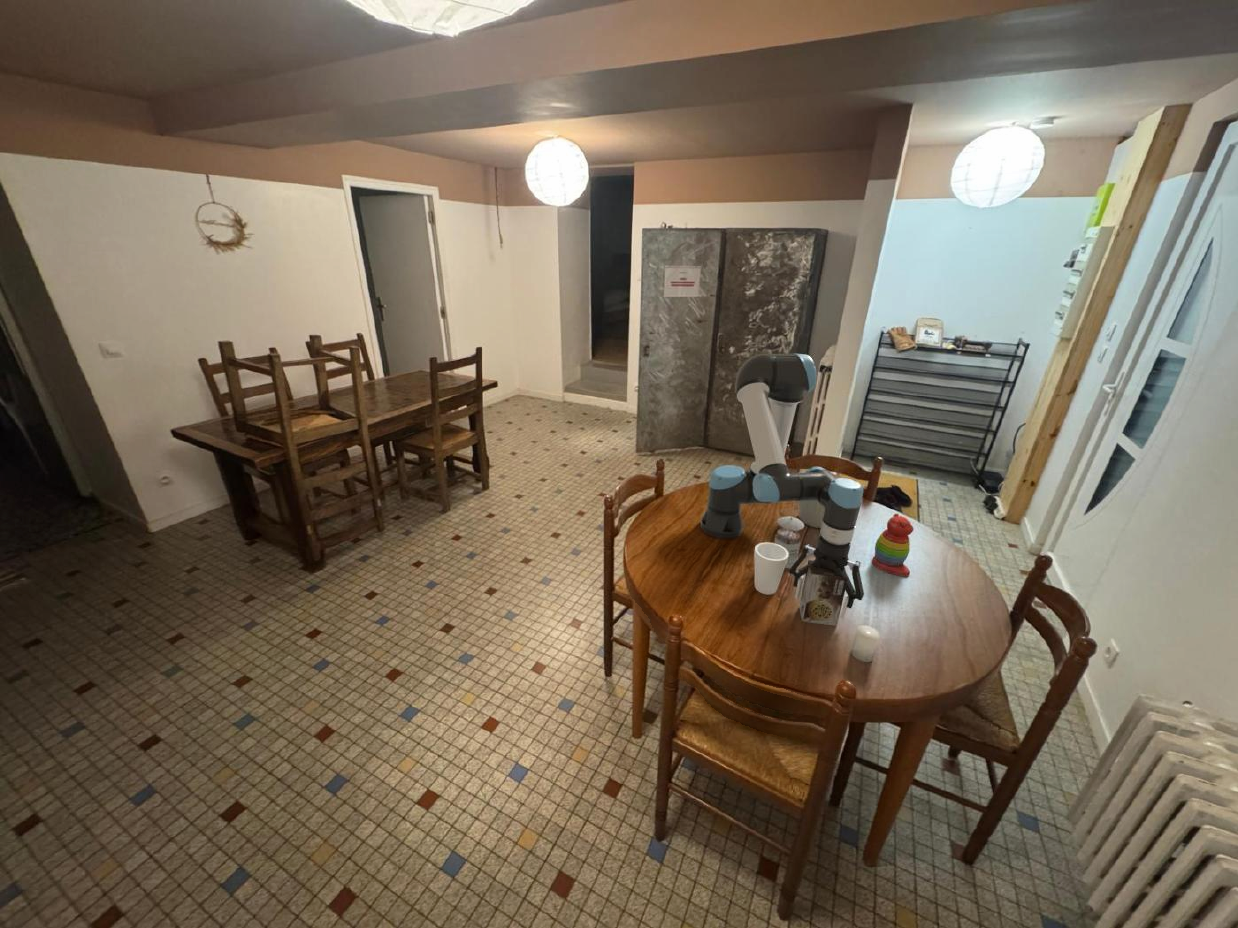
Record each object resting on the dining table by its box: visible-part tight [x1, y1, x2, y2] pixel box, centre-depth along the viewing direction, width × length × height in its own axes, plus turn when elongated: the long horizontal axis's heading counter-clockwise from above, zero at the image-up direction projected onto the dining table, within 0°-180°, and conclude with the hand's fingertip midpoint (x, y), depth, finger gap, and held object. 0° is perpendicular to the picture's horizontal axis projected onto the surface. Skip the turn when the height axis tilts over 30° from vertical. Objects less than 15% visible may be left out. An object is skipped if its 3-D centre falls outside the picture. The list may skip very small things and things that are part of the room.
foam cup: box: [753, 541, 789, 595], centre depth 137 cm, size 10×9×13 cm
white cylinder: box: [850, 624, 881, 663], centre depth 115 cm, size 5×5×7 cm
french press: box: [773, 501, 805, 569], centre depth 149 cm, size 10×12×25 cm
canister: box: [797, 469, 843, 529], centre depth 172 cm, size 18×18×21 cm
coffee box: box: [798, 559, 849, 627], centre depth 126 cm, size 9×6×16 cm
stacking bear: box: [871, 513, 915, 577], centre depth 148 cm, size 11×10×18 cm
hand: (819, 605), depth 127 cm, fingers open, 11 cm apart
